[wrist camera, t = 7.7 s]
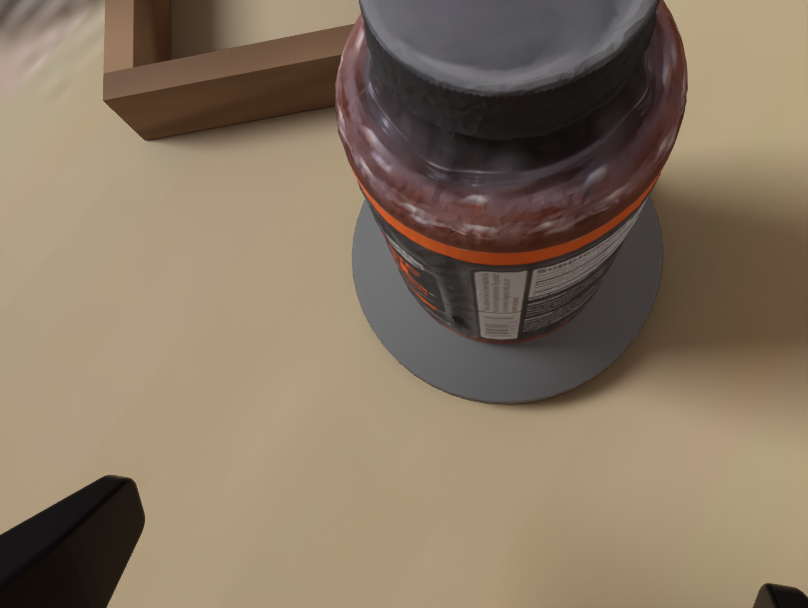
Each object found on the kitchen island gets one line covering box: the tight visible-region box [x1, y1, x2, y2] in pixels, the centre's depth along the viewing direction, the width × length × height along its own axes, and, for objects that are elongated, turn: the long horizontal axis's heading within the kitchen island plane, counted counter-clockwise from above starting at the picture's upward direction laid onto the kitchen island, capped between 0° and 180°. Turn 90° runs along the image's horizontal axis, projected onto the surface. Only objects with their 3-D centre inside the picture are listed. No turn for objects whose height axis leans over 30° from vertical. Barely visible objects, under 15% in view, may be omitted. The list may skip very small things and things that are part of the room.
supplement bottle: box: [335, 0, 688, 344], centre depth 14 cm, size 6×6×11 cm
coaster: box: [352, 195, 663, 404], centre depth 19 cm, size 9×9×1 cm
